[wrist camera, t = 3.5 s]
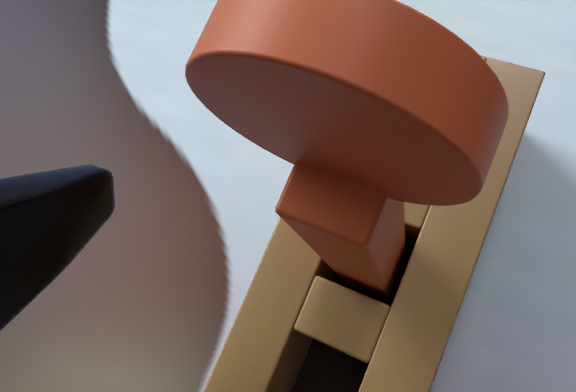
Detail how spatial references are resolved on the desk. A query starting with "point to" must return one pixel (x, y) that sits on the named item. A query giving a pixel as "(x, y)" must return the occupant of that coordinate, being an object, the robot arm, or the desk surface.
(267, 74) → the orange piece
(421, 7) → the desk surface
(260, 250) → the desk surface
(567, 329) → the desk surface
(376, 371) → the utensil rack
